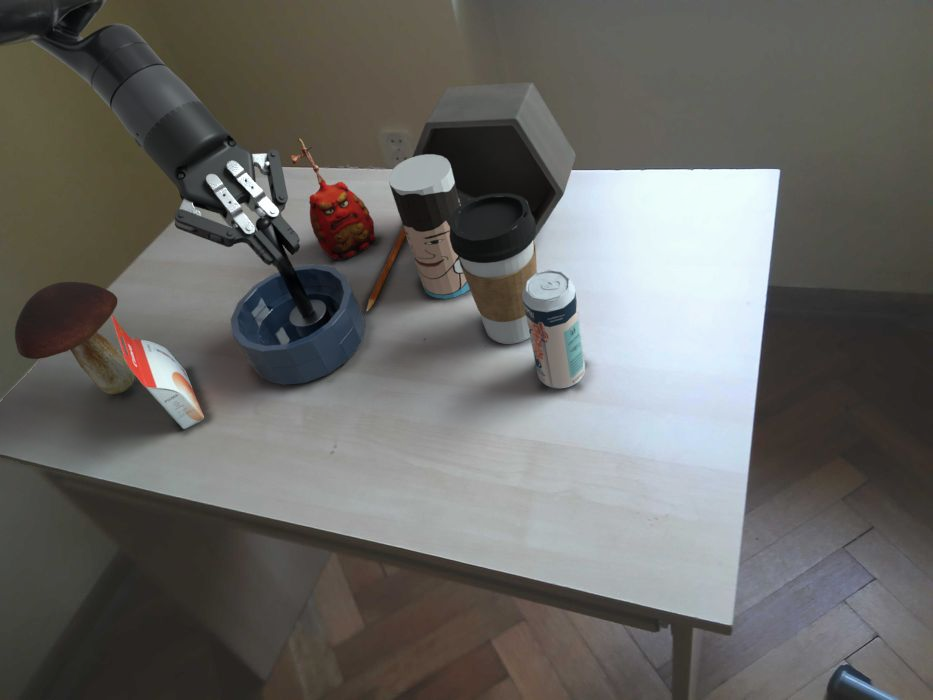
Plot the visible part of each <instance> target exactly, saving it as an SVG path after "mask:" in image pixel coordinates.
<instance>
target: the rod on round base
mask: <svg viewBox="0 0 933 700" xmlns="http://www.w3.org/2000/svg"><path fill="white" fill-rule="evenodd" d="M255 229H256V231H258V230H260V231H261V232H262V233H263V234H264V235H265V237H266V238H267V239H268V240H269V241H270V242H271V243H272V244H273V246H274V247H275V248H276V249H277V250H278V251H279V252H280V254H281V255H282V256H283V258H284V260H283V262H282V263H281V264H280V265H279V266H277V267H276V270H277V272H279V273H280V275H281V277H282V279H283V281H284V283H285V285H286V287H287V289H288V291H289V293H290V295H291V297H292V299H293V301H294V302H295V304H296V307H295V308H294V309H293V310H292V311H291V313H290V316H289V320H290V322H291V324H292V326H293V328H294V330H295V331H296V333H297V335H298V336H300V337H302V338H305V337H308V336H309V335H311V334H312V333H314V332H315V331H317V330H318V329H320V328H321V327H323V326H324V325H325V324H327V323H328V322H329V321H330V319H331V315H330V313H329V311H328V309H327V307H326V305H325V303H324V302H322V301H320V300H316V299H313V300H309V298H308V296H307V294H306V292H305V290H304V288H303V286H302V284H301V282H300V280H299V278H298V276H297V274H296V272H295V270H294V268H293V267H294V266H293V263H292V261H291V260H290V257H289V255H288V253H287V250H286V248H285V247H284V246H283V245H282V243H281V241H280V239H279V237H278V235H277V233H276V231H275V229H274V227H273V225H272V223H271V221H270V220H269V219H268V218H266V217H261V218H260V217H258V218H257V220H256V221H255Z"/></svg>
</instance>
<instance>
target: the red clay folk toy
mask: <svg viewBox="0 0 933 700" xmlns="http://www.w3.org/2000/svg"><path fill="white" fill-rule="evenodd" d="M297 141H298V143H300V145H301V147H298V148H299V150H300V151H301V152H302V153H301V154H298V155H294V154H293V155H292V154H291V157H290V158H291V159H290V160H291V162H292V164H293V165H296V164H297V163H298V162H299V161H300V159H303V158H304V157H306V159H307V161H308V162H309V163H310V165H311V167H312V170H313V172H314V173H315V174H316V178H317V182H318V185H319V188H318V190H317V191H316V192H315V193H313V194H311V195H310V196H309V221H310V224H311V228H312V231H313V235H314V237H315V238H316V239H317V242H318V245H319V247H320V248H321V249H322V251H323V252H324V253H325V254H327V255H328V256H329V257H330V258H331V259H333V260H336V261H337V260H341V259H348V258H349V259H350V258H352V257H353V256H355V255H356V254H357V253H359V252H362V251H366V250H367V249H369V247H371V246H372V245H373V244H374V243H375V242H376V234H375V223H374V222H375V221H374V219H373V218H372V217H371V215H370V210H369V208H368V207H367V206H366V205H365V203H364V201H363V200H362V199H361V198H360V197H358V196H357V195H356V193H354V192H353V191H352V190H350V189H349V187H348V186H347V185H346V183H345V182H343V181H338V182H336V183H335V184H327V182H326V179H324V177H323V176H322V175H321V173H320V170H319V169H320V168H319V166H318V165H317V164H315V162H314V160H313V157H312V155H311V153H310V151H309V150H311V149H312V146H313V145H310V146H308V147H306V145H305V144H304V142H303V140H302V139H301V138H298V139H297Z"/></svg>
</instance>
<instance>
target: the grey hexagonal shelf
mask: <svg viewBox="0 0 933 700" xmlns="http://www.w3.org/2000/svg"><path fill="white" fill-rule="evenodd" d="M427 154H434V155H439V156H443V157H444V158H446V159H447V160H448V161H449V163H450V165H451V169H452V173H453V177H454V181H455V185H456V189H457V193H458V197H459V201H460V205H462V204H464V203H465V202H467V201H469V200H471V199H474V198H477V197H480V196H484V195H490V194H499V193H507V194H515V195H519V196H521V197H523V198H524V199H525V200H526V201H527V203H528V205H529V208H530V211H531V214H532V216H533V217H534V219H535V225H536V235H535V238H534V239H533V241H534V242H535V240H536V238H537V236H538V234H539V233H540V232H541V230H542V228H544V225H545V224H546V223H547V221H548V220H549V218H550V216H551V215H552V213H553V212H554V210H555V209H556V207H557V206H558V205H559V203H560V201H561V200H562V198H563V196H564V195H565V192H566V189H567V186H568V183H569V180H570V176H571V172H572V170H573V166H574V164H575V161H576V157H577V154H576V152H575V151H574V149H573V147H572V146H571V144H570V141H568V139H567V137H566V136H565V133H564V132H563V131H562V128H561V127H560V125H559V124H558V122H557V120H556V119H555V118H554V116H553V114H552V112H551V110H550V109H549V107H548V106H547V104H546V102H545V100H544V99H543V97H542V95H541V94H540V93H539V91H538V89H537V87H536V85H535V84H534V83H533V82H532V81H530V82H529V81H528V82H527V81H526V82H513V83H495V84H493V83H492V84H480V85H479V84H477V85H463V86H462V85H461V86H448V87H446V88H444V91H443V93H442V94H441V96H440V98H439V100H437V102H436V105H435V106H434V108H433V109H432V111H431V114H430V115H429V117H428V118H427V120H426V122H425V124H424V126H423V128H422V131H421V133H420V137H419V139H418V141H417V144H416V147H415V149H414V151H413V154H412V157H415V156H420V155H427Z"/></svg>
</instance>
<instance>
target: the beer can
mask: <svg viewBox="0 0 933 700" xmlns="http://www.w3.org/2000/svg"><path fill="white" fill-rule="evenodd" d="M522 298H523V303H524V308H525V313H526V318H527V323H528V328H529V333H530V338H529V339H530V342H531V348H532V352H533V357H534V363H535V367H536V368H535V369H536V373H537V377H538V378H539V380H540V381H541V382H542V383H543V384H544V385H546V386H547V387H550V388H553V389H566V388H569V387H572V386H574V385H576V384H577V383H579V382H580V381H581V380H582V379H583V377H584V376H585V373H586V363H585V357H584V350H583V340H582V333H581V325H580V316H579V310H578V309H579V308H578V301H577V293H576V286H575V283H574V282H573V281H572V280H571V279H570V278H569V277H568V276H567V275H566V274H565V273H563V271H559V270H553V269H552V270H551V269H546V270H543V271H539V272H537V273H536V274H534V275H533V276H532V277H531V278H530V279H529V280H528V281H527V284H526V286H525V288H524V290H523V294H522Z"/></svg>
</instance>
